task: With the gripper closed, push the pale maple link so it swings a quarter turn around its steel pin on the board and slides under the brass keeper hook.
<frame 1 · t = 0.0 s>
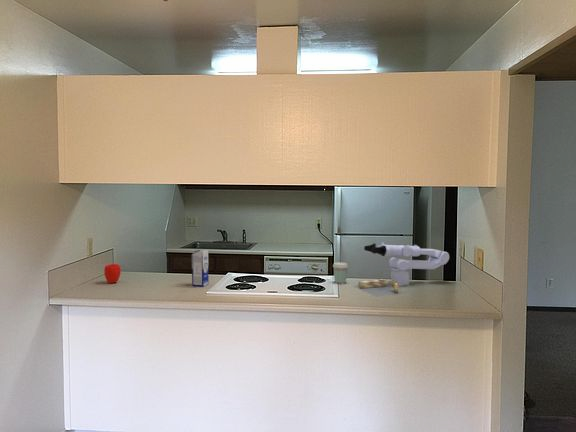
hand: (368, 249, 243), 22 cm above the counter, tool horizontal, fingers open, 7 cm apart
link: (372, 283, 244), point 3 cm above the counter, hinge at 0.0°
milk carton: (200, 285, 252), on the counter
pintle: (381, 279, 246), point 5 cm above the counter
keeper: (393, 287, 233), on the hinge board, point 4 cm above the counter
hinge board: (378, 291, 239), on the counter
apple: (112, 283, 257), on the counter
coffee cup: (340, 284, 255), on the counter
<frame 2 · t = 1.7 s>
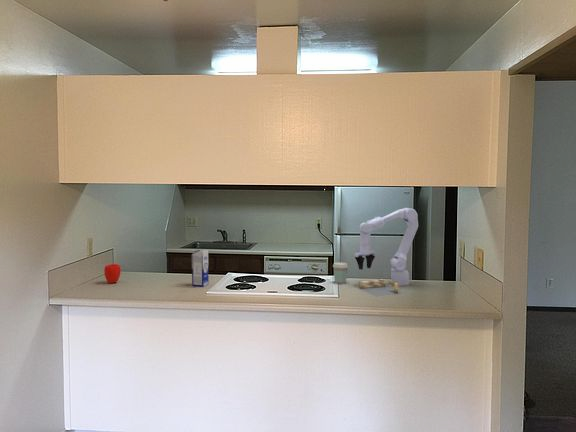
hand: (364, 268, 249), 10 cm above the counter, tool pointing down, fingers open, 6 cm apart
nothing on the counter moved.
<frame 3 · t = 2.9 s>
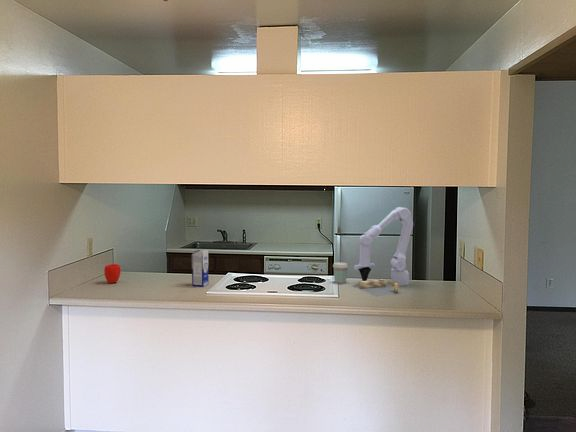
hand: (364, 280, 250), 3 cm above the counter, tool pointing down, fingers closed
nothing on the counter moved.
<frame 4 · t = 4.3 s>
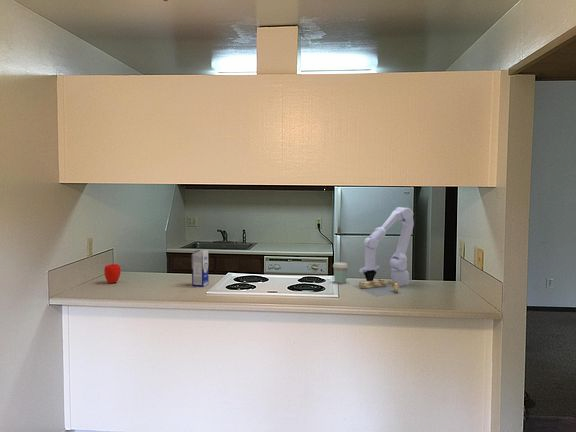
hand: (369, 284, 247), 2 cm above the counter, tool pointing down, fingers closed, pressing on link
link: (372, 283, 244), point 3 cm above the counter, hinge at 4.4°, touching gripper
everything else where it was.
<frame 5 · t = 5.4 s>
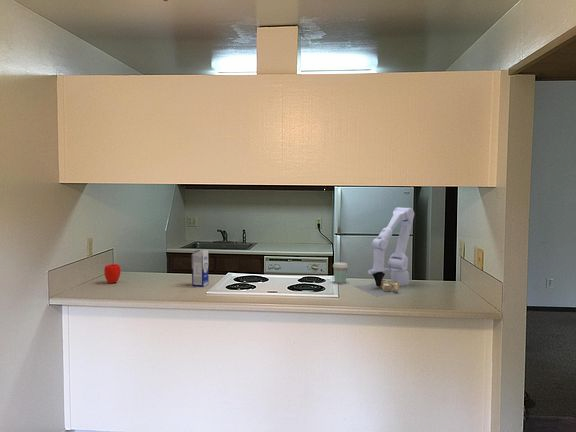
hand: (378, 286, 242), 2 cm above the counter, tool pointing down, fingers closed
link: (384, 285, 241), point 3 cm above the counter, hinge at 72.3°, touching gripper
everything else where it was.
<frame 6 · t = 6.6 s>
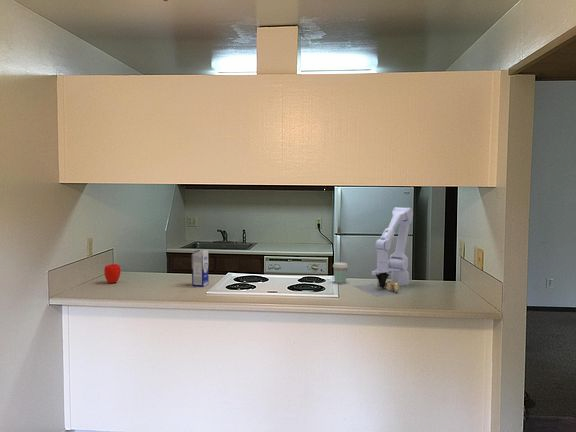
hand: (382, 287, 240), 2 cm above the counter, tool pointing down, fingers closed
link: (386, 285, 241), point 3 cm above the counter, hinge at 87.9°, touching gripper
everything else where it was.
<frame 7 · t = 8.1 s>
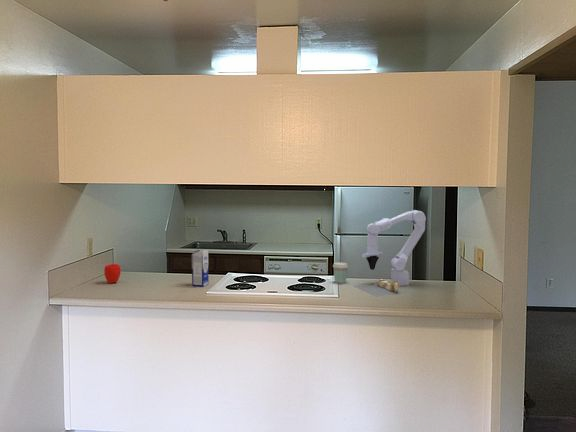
hand: (372, 269, 251), 9 cm above the counter, tool pointing down, fingers closed
link: (386, 285, 241), point 3 cm above the counter, hinge at 87.9°
everything else where it was.
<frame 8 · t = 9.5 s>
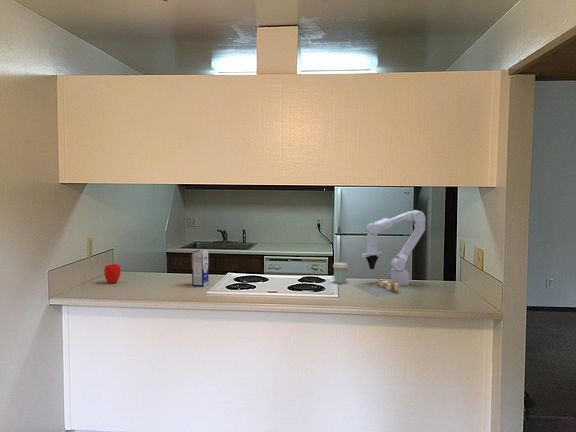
hand: (371, 269, 252), 9 cm above the counter, tool pointing down, fingers closed
nothing on the counter moved.
at the end: link at +88° (first picture: +0°); coffee cup moved 0.2 cm from its start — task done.
